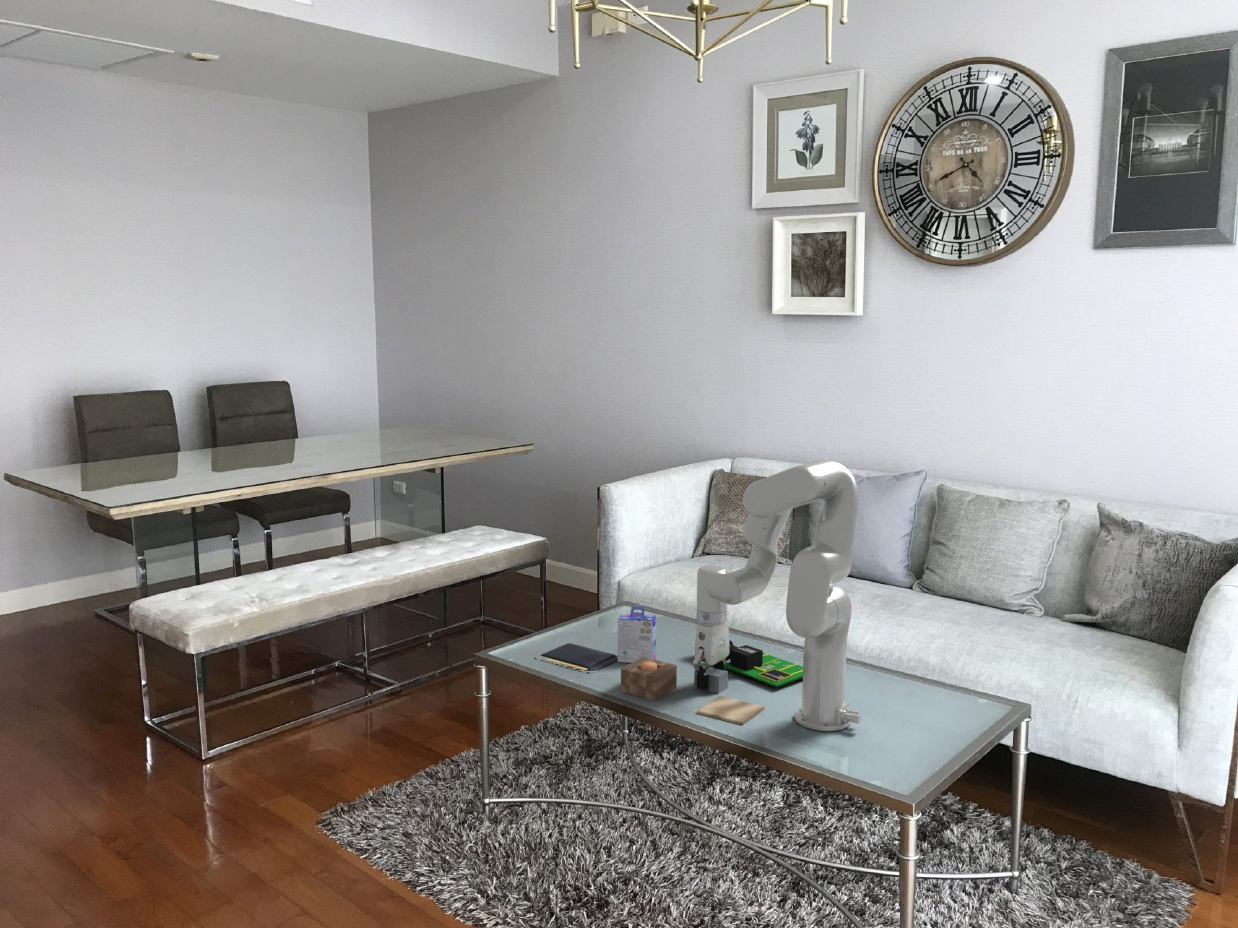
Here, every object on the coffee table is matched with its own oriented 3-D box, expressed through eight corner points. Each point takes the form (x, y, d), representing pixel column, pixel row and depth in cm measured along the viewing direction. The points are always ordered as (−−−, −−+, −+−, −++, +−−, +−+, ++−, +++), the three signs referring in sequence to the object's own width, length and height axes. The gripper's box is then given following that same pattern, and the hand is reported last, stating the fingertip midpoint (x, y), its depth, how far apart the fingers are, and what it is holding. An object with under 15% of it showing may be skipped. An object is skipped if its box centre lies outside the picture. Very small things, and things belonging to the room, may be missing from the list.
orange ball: (659, 679, 244) (660, 663, 243) (651, 683, 241) (651, 668, 240) (646, 675, 246) (646, 660, 245) (637, 680, 243) (637, 665, 242)
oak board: (764, 708, 232) (764, 706, 232) (742, 724, 223) (743, 722, 223) (719, 697, 239) (719, 695, 239) (697, 712, 230) (697, 710, 230)
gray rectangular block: (727, 688, 245) (727, 671, 244) (718, 694, 241) (718, 676, 241) (703, 682, 249) (703, 665, 248) (694, 688, 245) (694, 670, 245)
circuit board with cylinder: (816, 651, 251) (777, 664, 242) (815, 677, 252) (776, 691, 243) (731, 623, 274) (692, 635, 264) (730, 647, 275) (692, 659, 265)
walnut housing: (676, 687, 245) (676, 664, 244) (655, 700, 237) (655, 677, 236) (642, 679, 251) (643, 657, 250) (620, 691, 242) (620, 668, 242)
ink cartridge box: (656, 658, 266) (657, 606, 264) (653, 665, 261) (653, 612, 259) (621, 655, 268) (621, 604, 266) (617, 662, 263) (617, 610, 261)
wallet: (624, 654, 266) (588, 670, 254) (624, 661, 266) (588, 677, 254) (569, 639, 278) (531, 653, 266) (569, 645, 278) (532, 660, 266)
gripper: (707, 627, 233) (706, 698, 236) (741, 609, 247) (740, 676, 250) (680, 622, 237) (679, 691, 240) (715, 604, 251) (714, 670, 254)
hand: (710, 683), depth 245 cm, fingers open, 7 cm apart
